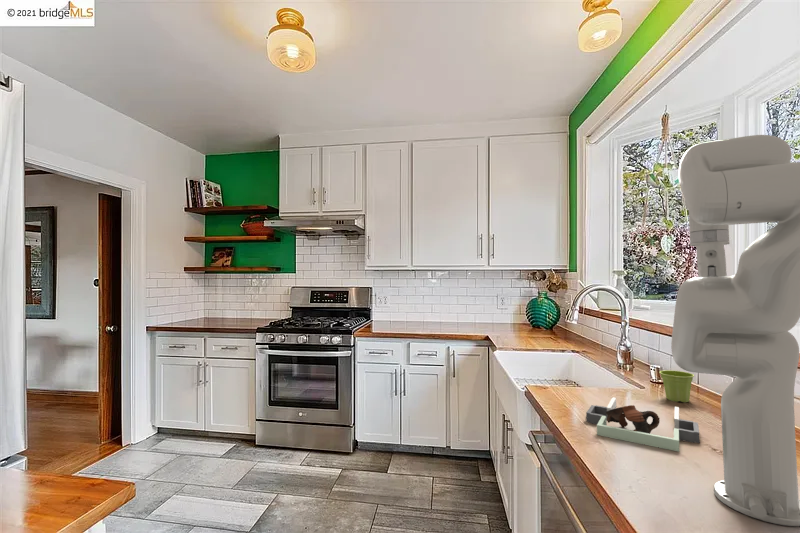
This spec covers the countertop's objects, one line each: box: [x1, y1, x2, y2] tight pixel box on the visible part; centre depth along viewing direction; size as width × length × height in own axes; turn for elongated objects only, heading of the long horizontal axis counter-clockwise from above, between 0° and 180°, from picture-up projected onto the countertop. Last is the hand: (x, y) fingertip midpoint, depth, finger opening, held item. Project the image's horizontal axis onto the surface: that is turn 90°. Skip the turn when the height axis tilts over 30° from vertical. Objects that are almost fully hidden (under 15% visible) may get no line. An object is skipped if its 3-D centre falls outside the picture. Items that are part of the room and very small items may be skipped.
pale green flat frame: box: [585, 396, 701, 453], centre depth 105 cm, size 28×25×2 cm
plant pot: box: [658, 369, 695, 403], centre depth 126 cm, size 9×9×9 cm
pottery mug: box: [606, 404, 661, 434], centre depth 99 cm, size 12×10×8 cm
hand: (712, 313), depth 93 cm, fingers closed
